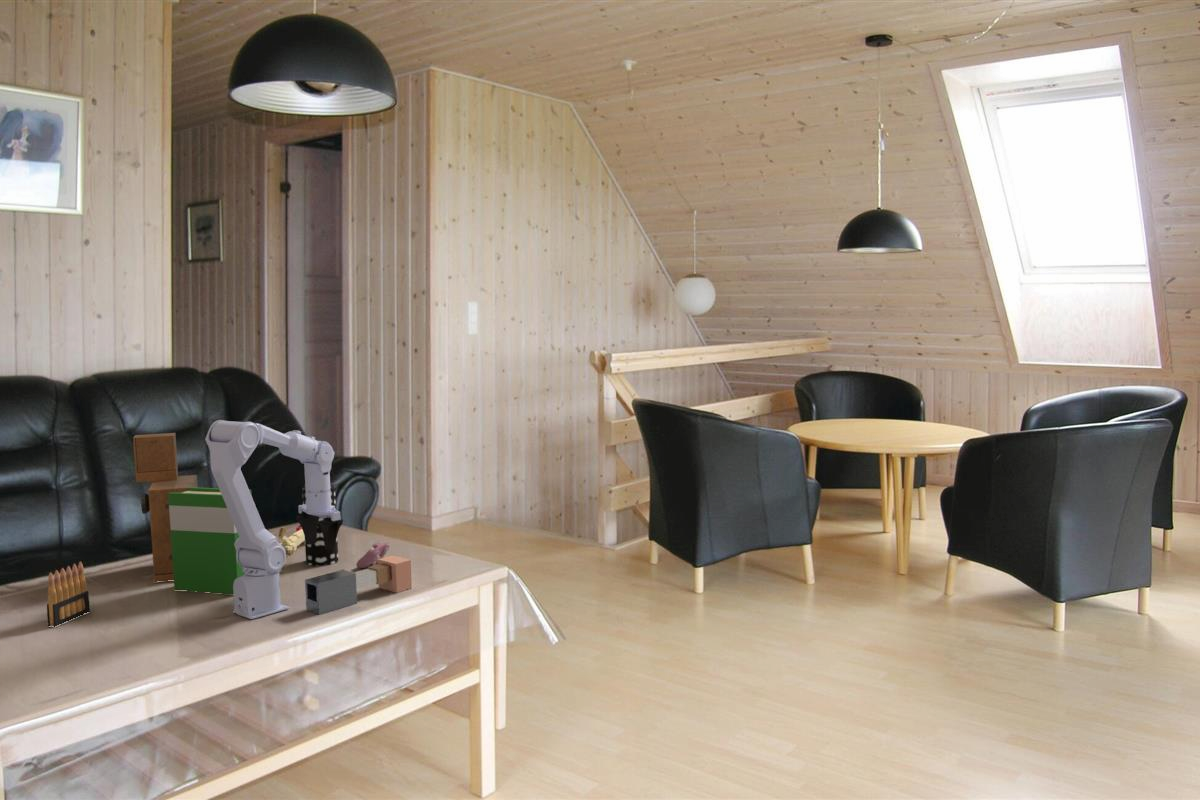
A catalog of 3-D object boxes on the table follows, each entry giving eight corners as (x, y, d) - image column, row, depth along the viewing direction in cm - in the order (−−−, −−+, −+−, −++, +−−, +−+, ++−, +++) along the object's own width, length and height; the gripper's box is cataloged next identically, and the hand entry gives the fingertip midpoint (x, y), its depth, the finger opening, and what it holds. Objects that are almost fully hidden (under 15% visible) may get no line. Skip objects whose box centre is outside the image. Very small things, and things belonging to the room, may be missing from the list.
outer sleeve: (319, 614, 216) (317, 583, 216) (306, 610, 220) (304, 579, 219) (357, 603, 224) (355, 573, 223) (344, 599, 227) (342, 569, 226)
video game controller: (369, 575, 252) (379, 552, 251) (353, 567, 253) (364, 544, 251) (384, 565, 262) (394, 542, 261) (369, 557, 262) (380, 534, 261)
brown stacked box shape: (144, 565, 260) (135, 434, 256) (202, 559, 265) (194, 431, 261) (136, 584, 242) (126, 444, 238) (198, 578, 247) (189, 440, 243)
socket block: (397, 592, 231) (395, 564, 231) (378, 587, 236) (377, 559, 235) (411, 588, 235) (410, 560, 234) (393, 583, 239) (392, 555, 239)
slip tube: (341, 594, 222) (341, 579, 221) (332, 591, 224) (331, 576, 224) (400, 578, 234) (400, 563, 234) (391, 575, 236) (390, 561, 236)
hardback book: (174, 590, 236) (168, 493, 234) (194, 582, 243) (188, 487, 241) (238, 595, 232) (232, 495, 229) (256, 586, 239) (251, 489, 236)
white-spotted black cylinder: (345, 560, 262) (341, 486, 259) (320, 567, 255) (317, 492, 252) (323, 556, 266) (320, 483, 264) (299, 563, 259) (295, 489, 257)
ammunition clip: (55, 628, 211) (50, 573, 209) (47, 627, 211) (43, 573, 210) (90, 612, 221) (86, 560, 220) (83, 611, 221) (79, 560, 220)
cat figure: (297, 561, 267) (345, 532, 290) (294, 530, 265) (342, 504, 289) (266, 559, 269) (315, 530, 293) (262, 528, 268) (312, 502, 291)
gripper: (350, 491, 232) (352, 547, 233) (315, 484, 241) (317, 538, 243) (324, 496, 227) (327, 553, 228) (289, 488, 236) (292, 544, 237)
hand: (320, 546), depth 235 cm, fingers open, 7 cm apart
